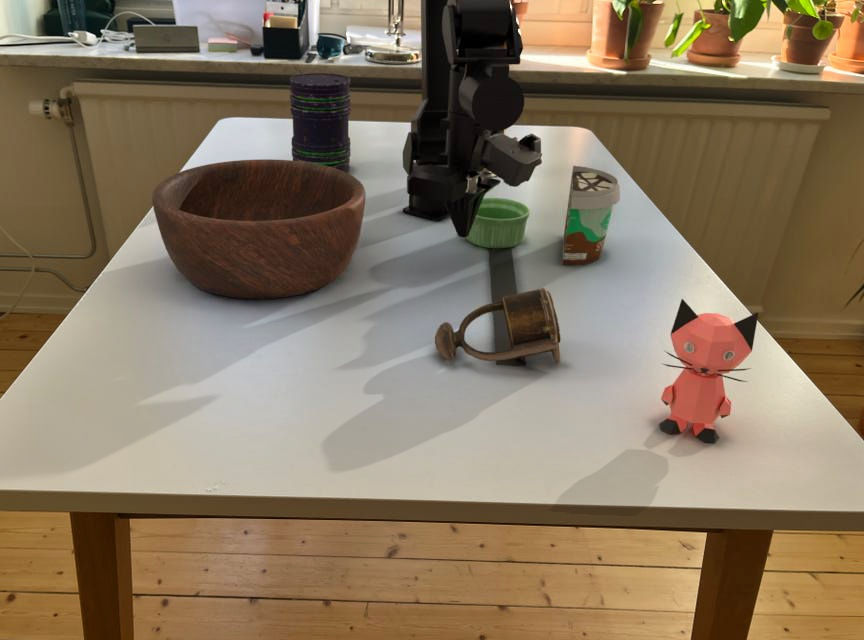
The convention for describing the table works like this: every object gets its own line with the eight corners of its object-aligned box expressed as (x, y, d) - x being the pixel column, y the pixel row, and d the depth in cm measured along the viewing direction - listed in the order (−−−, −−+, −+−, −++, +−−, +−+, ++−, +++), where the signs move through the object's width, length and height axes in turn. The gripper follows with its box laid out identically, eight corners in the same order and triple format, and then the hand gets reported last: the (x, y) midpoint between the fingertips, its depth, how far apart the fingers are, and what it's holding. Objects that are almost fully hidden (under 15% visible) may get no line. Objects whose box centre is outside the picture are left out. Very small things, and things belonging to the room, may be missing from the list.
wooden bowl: (184, 230, 112) (176, 156, 107) (365, 233, 113) (366, 159, 108) (138, 310, 91) (126, 221, 86) (363, 313, 91) (364, 226, 86)
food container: (611, 273, 102) (625, 196, 98) (562, 268, 103) (573, 192, 99) (608, 239, 113) (620, 168, 108) (563, 235, 114) (573, 164, 109)
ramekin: (467, 251, 108) (469, 219, 106) (455, 227, 115) (457, 197, 113) (533, 250, 108) (537, 218, 106) (517, 226, 116) (521, 196, 114)
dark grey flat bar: (526, 366, 82) (526, 365, 82) (496, 364, 82) (496, 363, 82) (509, 232, 115) (509, 231, 115) (487, 231, 115) (487, 230, 115)
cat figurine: (643, 436, 71) (669, 313, 65) (654, 399, 77) (679, 281, 71) (729, 457, 69) (764, 331, 63) (734, 417, 74) (767, 297, 68)
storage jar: (281, 174, 136) (277, 81, 129) (308, 159, 144) (306, 71, 137) (335, 182, 133) (334, 87, 126) (360, 166, 141) (360, 76, 134)
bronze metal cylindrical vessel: (563, 342, 74) (583, 280, 81) (430, 307, 77) (460, 250, 84) (550, 397, 79) (569, 334, 86) (425, 362, 82) (453, 304, 89)
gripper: (494, 136, 85) (482, 275, 93) (568, 107, 99) (552, 230, 106) (406, 120, 91) (401, 252, 98) (487, 95, 104) (478, 212, 112)
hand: (463, 236), depth 104 cm, fingers closed
